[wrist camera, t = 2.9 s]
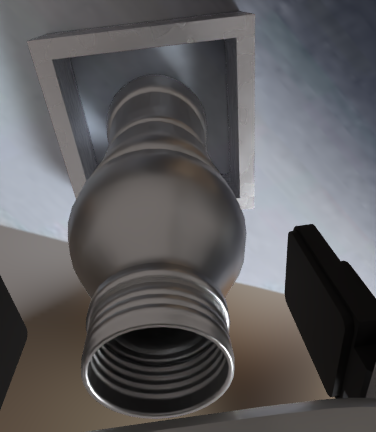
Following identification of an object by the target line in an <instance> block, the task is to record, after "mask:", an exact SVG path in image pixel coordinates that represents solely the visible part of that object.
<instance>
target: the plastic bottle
mask: <svg viewBox="0 0 376 432" xmlns="http://www.w3.org/2000/svg"><path fill="white" fill-rule="evenodd" d="M107 138H108V149H107V152H106V153H105V156H104V158H103V160H102V161H101V163H100V164H99V165H98V167H97V168H96V169H95V171H94V172H93V173H92V174H91V176H90V177H89V179H88V180H87V181H86V182H85V184H84V186H83V188H82V190H81V191H80V193H79V195H78V197H77V199H76V201H75V203H74V205H73V206H72V209H71V213H70V217H69V221H68V242H69V250H70V256H71V260H72V265H73V268H74V270H75V273H76V274H77V276H78V279H79V280H80V282H81V284H82V285H83V287H84V288H85V290H86V291H87V293H88V294H89V296H90V297H91V298H92V299H91V302H90V305H89V309H88V313H87V318H86V331H87V337H86V341H85V346H84V351H83V355H82V363H81V364H82V365H81V368H82V371H81V377H82V380H83V384H84V386H85V388H86V390H87V391H88V393H89V394H90V395H91V396H92V397H93V398H94V399H95V400H96V401H97V402H99V403H100V404H102V405H103V406H105V407H106V408H109V409H111V410H113V411H115V412H118V413H121V414H125V415H128V416H133V417H139V418H152V419H158V418H171V417H177V416H182V415H186V414H189V413H192V412H195V411H198V410H200V409H202V408H204V407H206V406H208V405H210V404H211V403H213V402H214V401H216V400H217V399H218V398H219V397H220V396H222V394H224V393H225V391H226V390H227V389H228V387H229V386H230V384H231V381H232V379H233V377H234V354H233V350H232V345H231V340H230V336H229V328H230V318H229V313H228V308H227V304H226V300H225V297H226V295H227V294H228V292H229V291H230V289H231V287H232V286H233V284H234V282H235V281H236V279H237V277H238V276H239V274H240V271H241V268H242V265H243V262H244V252H245V242H246V226H245V218H244V215H243V213H242V210H241V207H240V205H239V203H238V201H237V199H236V197H235V195H234V193H233V191H232V190H231V188H230V187H229V185H228V184H227V182H226V181H225V179H224V178H223V177H222V176H221V174H220V173H219V171H218V170H217V169H216V167H215V166H214V165H213V163H212V162H211V159H210V157H209V155H208V153H207V149H206V143H207V120H206V115H205V112H204V109H203V107H202V104H201V103H200V101H199V99H198V98H197V96H196V95H195V94H194V93H193V92H192V91H191V90H190V89H189V88H188V87H187V86H185V85H184V84H183V83H181V82H180V81H178V80H175V79H173V78H171V77H169V76H164V75H146V76H141V77H139V78H137V79H135V80H132V81H130V82H129V83H127V84H126V85H125V86H123V87H122V88H121V89H120V90H119V91H118V93H117V94H116V95H115V96H114V98H113V100H112V102H111V104H110V107H109V110H108V114H107Z"/></svg>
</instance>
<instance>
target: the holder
mask: <svg viewBox="0 0 376 432" xmlns="http://www.w3.org/2000/svg"><path fill="white" fill-rule="evenodd" d="M220 39H225V58H226V84H227V110H228V136H229V162H230V173H227V174H221V176H222V177H223V178H224V179H225V181H226V182H227V184H228V185H229V187H230V188H231V190H232V191H233V193H234V195H235V197H236V199H237V201H238V203H239V205H240V207H241V210H246V209H254V150H255V14H252V13H247V12H242V11H235V12H227V13H218V14H210V15H201V16H193V17H185V18H176V19H168V20H159V21H151V22H142V23H134V24H126V25H117V26H109V27H100V28H92V29H84V30H75V31H67V32H58V33H50V34H45V35H42V36H40V37H37V38H34V39H31V40H29V41H27V44H28V47H29V50H30V53H31V56H32V60H33V63H34V66H35V69H36V72H37V76H38V79H39V82H40V85H41V88H42V92H43V95H44V98H45V101H46V104H47V108H48V111H49V114H50V117H51V120H52V124H53V127H54V130H55V133H56V136H57V140H58V143H59V146H60V149H61V152H62V156H63V159H64V162H65V165H66V168H67V172H68V175H69V178H70V181H71V184H72V188H73V191H74V194H75V197H76V199H77V197H78V195H79V193H80V191H81V190H82V188H83V186H84V184H85V182H86V181H87V180H88V179H89V177H90V176H91V174H92V173H93V172H94V171H95V169H96V168H97V167H98V165H97V161H96V157H95V153H94V149H93V145H92V142H91V138H90V134H89V130H88V126H87V122H86V118H85V115H84V111H83V107H82V103H81V99H80V95H79V91H78V87H77V84H76V80H75V76H74V72H73V68H72V64H71V60H70V57H78V56H86V55H94V54H103V53H111V52H120V51H128V50H136V49H145V48H153V47H161V46H170V45H178V44H187V43H195V42H203V41H212V40H220Z"/></svg>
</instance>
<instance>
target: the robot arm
mask: <svg viewBox="0 0 376 432" xmlns="http://www.w3.org/2000/svg"><path fill="white" fill-rule="evenodd" d="M285 299H286V302H287V305H288V307H289V309H290V312H291V314H292V316H293V318H294V320H295V323H296V325H297V327H298V329H299V332H300V334H301V336H302V338H303V341H304V343H305V345H306V347H307V350H308V352H309V354H310V356H311V359H312V361H313V363H314V365H315V367H316V370H317V372H318V374H319V376H320V379H321V381H322V383H323V385H324V388H325V390H326V392H327V394H328V395H329V396H330V397H335V398H336V399H326V400H315V401H307V402H299V403H291V404H282V405H274V406H266V407H258V408H252V409H244V410H237V411H229V412H222V413H215V414H208V415H201V416H193V417H186V418H179V419H172V420H165V421H158V422H151V423H144V424H137V425H130V426H123V427H116V428H109V429H102V430H95V431H89V432H376V298H375V297H374V296H373V294H372V293H371V292H370V290H369V289H368V288H367V286H366V285H365V284H364V282H363V281H362V280H361V278H360V277H359V276H358V274H357V273H356V272H355V271H354V269H353V268H352V267H351V265H350V264H349V263H348V262H346V261H340V260H339V258H338V257H337V256H336V254H335V253H334V252H333V250H332V249H331V247H330V246H329V245H328V243H327V242H326V241H325V239H324V238H323V236H322V235H321V234H320V232H319V231H318V230H317V228H316V227H315V226H314V225H313V224H309V225H302V226H295V227H294V230H293V231H291V232H289V233H288V246H287V263H286V280H285ZM26 340H27V329H26V326H25V324H24V322H23V320H22V318H21V316H20V314H19V312H18V310H17V308H16V306H15V304H14V302H13V300H12V298H11V296H10V294H9V292H8V290H7V288H6V286H5V284H4V282H3V280H2V278H1V276H0V409H1V406H2V404H3V401H4V398H5V396H6V393H7V390H8V388H9V385H10V382H11V380H12V377H13V374H14V372H15V369H16V366H17V364H18V361H19V358H20V356H21V353H22V350H23V348H24V345H25V342H26Z"/></svg>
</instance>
